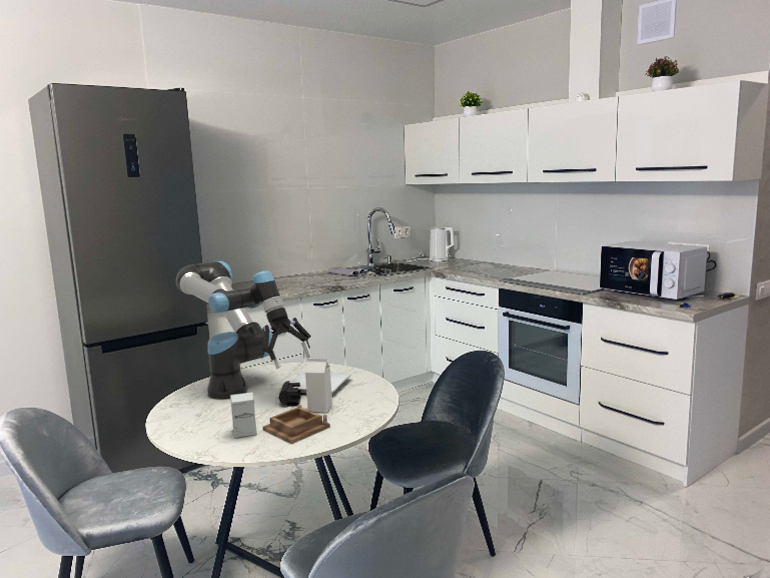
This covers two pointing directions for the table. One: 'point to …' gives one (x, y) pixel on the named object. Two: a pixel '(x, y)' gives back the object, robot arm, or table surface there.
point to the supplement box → (243, 415)
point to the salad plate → (336, 380)
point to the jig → (296, 424)
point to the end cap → (290, 394)
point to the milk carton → (318, 385)
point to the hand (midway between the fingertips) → (294, 362)
